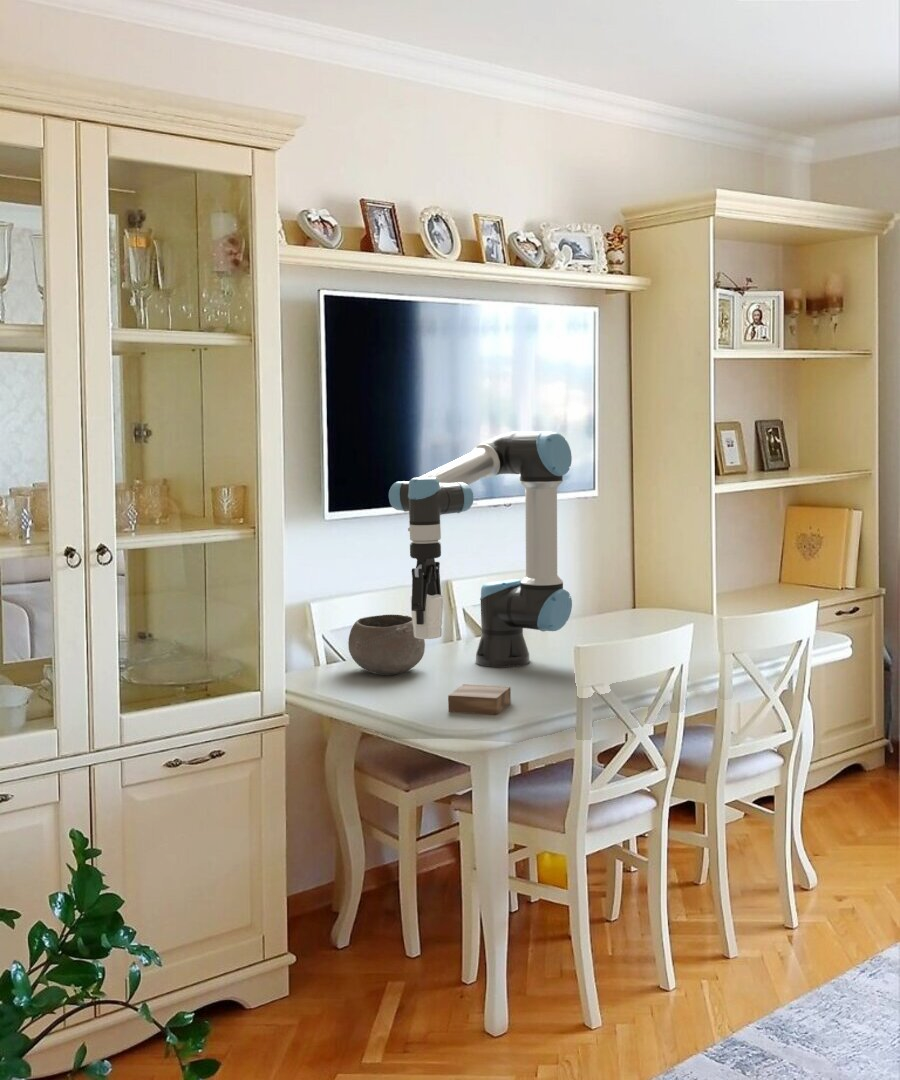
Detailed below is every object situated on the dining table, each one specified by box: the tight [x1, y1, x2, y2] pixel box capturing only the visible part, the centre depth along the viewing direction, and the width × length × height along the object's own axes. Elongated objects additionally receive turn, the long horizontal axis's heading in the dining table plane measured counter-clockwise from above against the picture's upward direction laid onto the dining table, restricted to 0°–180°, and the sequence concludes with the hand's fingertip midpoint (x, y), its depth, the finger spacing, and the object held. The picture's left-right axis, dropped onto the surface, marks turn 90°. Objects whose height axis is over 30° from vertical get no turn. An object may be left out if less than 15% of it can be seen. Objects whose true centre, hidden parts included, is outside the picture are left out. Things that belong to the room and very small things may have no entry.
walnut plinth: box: [447, 684, 512, 716], centre depth 302 cm, size 12×12×4 cm
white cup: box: [410, 594, 444, 640], centre depth 306 cm, size 8×8×10 cm
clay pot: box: [347, 614, 426, 676], centre depth 342 cm, size 21×21×15 cm
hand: (427, 633), depth 307 cm, fingers closed on white cup, 8 cm apart
